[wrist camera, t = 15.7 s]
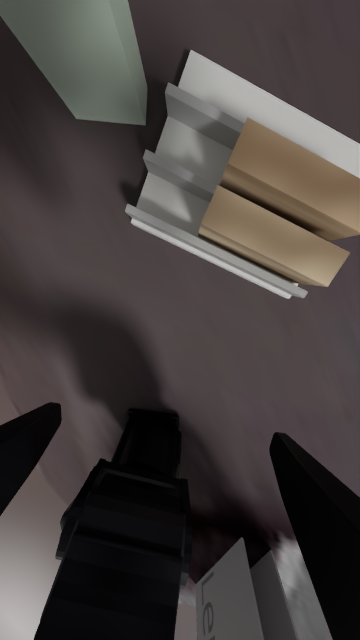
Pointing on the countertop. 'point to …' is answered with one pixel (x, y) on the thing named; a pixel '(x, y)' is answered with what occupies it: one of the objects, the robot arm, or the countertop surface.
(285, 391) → the countertop surface
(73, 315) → the countertop surface
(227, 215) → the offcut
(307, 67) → the countertop surface
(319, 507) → the robot arm
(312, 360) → the countertop surface
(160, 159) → the rack
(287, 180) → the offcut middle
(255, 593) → the white cardboard box
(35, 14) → the sage green block
